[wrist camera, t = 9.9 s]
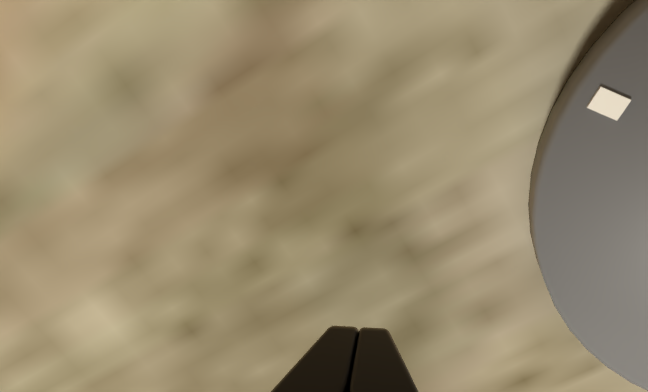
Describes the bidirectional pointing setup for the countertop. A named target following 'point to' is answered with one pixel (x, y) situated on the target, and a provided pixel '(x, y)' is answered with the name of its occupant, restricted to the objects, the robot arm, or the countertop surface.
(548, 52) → the countertop surface
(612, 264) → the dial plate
